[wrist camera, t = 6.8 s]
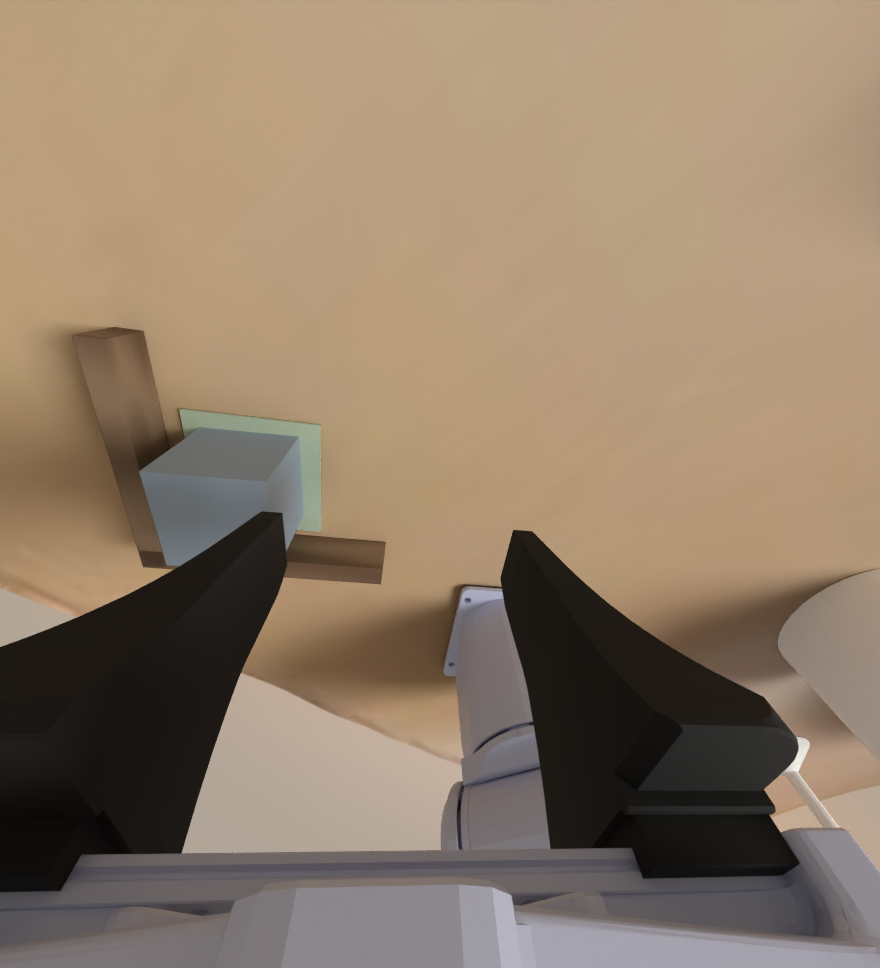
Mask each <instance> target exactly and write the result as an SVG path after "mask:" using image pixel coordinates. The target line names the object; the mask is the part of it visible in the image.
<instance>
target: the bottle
mask: <svg viewBox="0 0 880 968" xmlns="http://www.w3.org/2000/svg"><path fill="white" fill-rule="evenodd" d="M777 642H778V649H779V651H780V653H781V655H782V656H783V657H784V658H785V659H786V661H787V662H788V663H789V664H790V665H791V666H792V667H793V668H794V669H795V670H796V671H797V673H798V674H799V675H800V676H801V677H802V678H803V679H804V680H805V681H806V682H807V684H808V685H809V686H810V687H811V688H812V689H813V690H814V691H815V692H816V693H817V694H818V696H819V697H820V698H821V699H822V700H823V701H824V702H825V703H826V704H827V705H828V707H829V708H830V709H831V710H832V711H833V712H834V713H835V714H836V715H837V716H838V717H839V719H840V720H841V721H842V722H843V723H844V724H845V725H846V726H847V727H848V728H849V730H850V731H851V732H852V733H853V734H854V735H855V736H856V737H857V738H858V739H859V740H860V742H861V743H862V744H863V745H864V746H865V747H866V748H867V749H868V750H869V751H870V752H871V754H872V755H873V756H874V757H875V758H876V759H877V760H878V761H879V762H880V569H876V570H871V571H867V572H863V573H860V574H857V575H854V576H851V577H848V578H846V579H843V580H841V581H839V582H837V583H835V584H833V585H830V586H829V587H827V588H825V589H824V590H822V591H820V592H818V593H817V594H815V595H814V596H812V597H811V598H810V599H808V600H807V601H806V602H804V603H803V604H802V605H801V606H800V607H799V608H798V609H797V610H795V611H794V612H793V613H792V614H791V616H790V617H789V618H788V620H787V621H786V622H785V623H784V625H783V627H782V629H781V631H780V633H779V637H778V641H777Z"/></svg>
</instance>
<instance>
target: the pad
mask: <svg viewBox="0 0 880 968" xmlns="http://www.w3.org/2000/svg"><path fill="white" fill-rule="evenodd" d="M179 412H180V417H181V422H182V427H183V432H184V437H185V438H186V437H188V436H189V435H191V434H192V433H193V432H195V431H196V430H198V429H199V428H200V427H203V428H214V429H225V430H235V431H246V432H257V433H267V434H278V435H289V436H299V440H300V456H301V472H302V489H303V505H304V515H303V517H302V519H301V521H300V523H299V526H298V528H297V530H304V531H315V532H321V531H322V527H321V425H320V424H312V423H303V422H294V421H286V420H277V419H269V418H260V417H251V416H243V415H234V414H226V413H217V412H208V411H200V410H191V409H183V408H180V409H179Z"/></svg>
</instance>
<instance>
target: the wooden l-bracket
mask: <svg viewBox="0 0 880 968" xmlns="http://www.w3.org/2000/svg"><path fill="white" fill-rule="evenodd" d="M72 338H73V341H74V344H75V348H76V351H77V354H78V357H79V361H80V364H81V367H82V370H83V374H84V377H85V380H86V383H87V387H88V390H89V393H90V396H91V399H92V403H93V406H94V409H95V412H96V416H97V419H98V422H99V425H100V429H101V432H102V435H103V438H104V442H105V445H106V448H107V451H108V455H109V458H110V461H111V464H112V467H113V471H114V474H115V477H116V480H117V484H118V487H119V490H120V493H121V497H122V500H123V503H124V506H125V510H126V513H127V516H128V519H129V523H130V526H131V529H132V532H133V535H134V539H135V542H136V545H137V548H138V552H139V555H140V558H141V561H142V565H143V567H148V568H162V569H176V568H177V567H179V566H172V565H167V564H166V561H165V557H164V554H163V551H162V547H161V544H160V541H159V537H158V534H157V531H156V527H155V524H154V520H153V517H152V514H151V510H150V507H149V504H148V500H147V497H146V493H145V490H144V487H143V483H142V480H141V477H140V473H139V471H140V470H142V469H143V468H145V467H146V466H147V465H149V464H150V463H152V462H153V461H154V460H156V459H157V458H159V457H160V456H161V455H163V454H164V453H166V452H167V451H168V450H169V445H168V441H167V436H166V432H165V427H164V423H163V418H162V414H161V409H160V405H159V400H158V396H157V391H156V387H155V382H154V377H153V373H152V368H151V364H150V359H149V355H148V350H147V346H146V341H145V337H144V332H143V331H140V330H132V329H125V328H118V327H113V328H108V329H103V330H97V331H92V332H86V333H81V334H76V335H72ZM385 543H386V542H377V541H365V540H353V539H341V538H329V537H317V536H306V535H294V536H293V538H292V540H291V542H290V544H289V547H288V549H287V551H286V555H287V568H286V571H285V574H284V577H287V578H301V579H315V580H329V581H342V582H356V583H370V584H381V579H382V571H383V562H384V554H385Z"/></svg>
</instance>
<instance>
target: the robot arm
mask: <svg viewBox="0 0 880 968" xmlns="http://www.w3.org/2000/svg"><path fill="white" fill-rule="evenodd" d="M286 568H287V555H286V545H285V534H284V523H283V513H278V512H265V511H261V512H260V513H258V514H257V515H255V516H254V517H252V518H251V519H250V520H248V521H247V522H245V523H244V524H242V525H241V526H240V527H238V528H237V529H235V530H234V531H233V532H231V533H230V534H228V535H227V536H225V537H224V538H222V539H221V540H219V541H218V542H217V543H215V544H214V545H212V546H211V547H209V548H208V549H206V550H205V551H203V552H201V553H200V554H198V555H197V556H195V557H193V558H192V559H190V560H189V561H187V562H185V563H184V564H182V565H181V566H179V567H177V568H176V569H174V570H172V571H171V572H169V573H167V574H166V575H164V576H162V577H160V578H158V579H157V580H155V581H153V582H151V583H149V584H147V585H145V586H143V587H141V588H139V589H138V590H136V591H134V592H132V593H130V594H128V595H126V596H124V597H121V598H119V599H117V600H115V601H113V602H110V603H108V604H106V605H104V606H102V607H99V608H97V609H95V610H93V611H91V612H89V613H86V614H84V615H82V616H80V617H77V618H75V619H72V620H70V621H68V622H65V623H63V624H60V625H58V626H55V627H53V628H51V629H48V630H45V631H43V632H40V633H37V634H35V635H32V636H29V637H27V638H24V639H21V640H19V641H16V642H13V643H10V644H8V645H5V646H2V647H0V968H880V872H879V870H878V869H877V868H876V866H875V865H874V864H873V862H872V861H871V860H870V859H869V857H868V856H867V855H866V853H865V852H864V851H863V849H862V848H861V847H860V845H859V844H858V843H857V842H856V840H855V839H854V838H853V836H852V835H851V834H850V832H849V831H847V830H845V829H843V828H796V829H790V830H787V831H784V832H781V833H780V831H779V830H778V828H777V827H776V825H775V823H774V822H773V820H772V819H771V817H770V816H769V814H773V813H775V812H776V811H775V806H774V804H773V803H772V801H771V800H770V798H769V797H768V795H767V794H766V792H765V791H764V789H765V788H766V787H767V786H768V785H769V784H770V783H771V782H772V781H773V780H775V779H776V778H777V777H778V776H779V775H780V774H781V773H782V772H784V771H785V770H786V769H787V768H788V767H789V766H790V765H791V763H792V762H793V761H794V760H795V758H796V756H797V753H798V749H799V745H798V740H797V738H796V737H795V735H794V734H793V733H792V732H791V730H790V729H789V728H788V727H787V725H786V724H785V723H784V722H783V720H782V719H781V718H780V717H779V715H778V714H777V713H776V712H775V710H774V709H773V708H772V707H771V705H770V704H769V703H768V702H767V700H766V699H765V698H764V697H762V696H760V695H758V694H756V693H754V692H752V691H750V690H748V689H746V688H744V687H743V686H741V685H739V684H737V683H735V682H733V681H731V680H729V679H727V678H725V677H723V676H721V675H719V674H717V673H715V672H713V671H711V670H709V669H707V668H706V667H704V666H702V665H700V664H699V663H697V662H695V661H693V660H692V659H690V658H688V657H686V656H684V655H683V654H681V653H679V652H678V651H676V650H675V649H673V648H671V647H670V646H668V645H666V644H665V643H663V642H662V641H660V640H659V639H657V638H656V637H654V636H653V635H651V634H650V633H648V632H647V631H645V630H643V629H642V628H641V627H639V626H638V625H636V624H635V623H633V622H632V621H631V620H629V619H628V618H627V617H625V616H624V615H623V614H621V613H620V612H619V611H617V610H616V609H615V608H614V607H612V606H611V605H610V604H608V603H607V602H606V601H605V600H604V599H602V598H601V597H600V596H599V595H598V594H597V593H595V592H594V591H593V590H592V589H591V588H590V587H588V586H587V585H586V584H585V583H584V582H583V581H582V580H581V579H580V578H579V577H577V576H576V575H575V574H574V573H573V572H572V571H571V570H570V569H569V568H568V567H567V566H566V565H565V564H564V563H563V562H562V561H561V560H560V559H559V558H558V557H557V556H556V555H555V554H554V553H553V552H552V551H551V550H550V549H549V548H548V547H547V546H546V545H545V544H544V543H543V542H542V541H541V540H540V539H539V538H538V537H537V536H536V535H535V534H534V533H533V532H532V531H521V530H513V533H512V537H511V541H510V544H509V548H508V552H507V556H506V559H505V563H504V567H503V571H502V574H501V585H502V589H500V588H486V587H473V586H467V587H464V588H463V589H462V590H461V594H460V598H459V602H458V606H457V611H456V615H455V619H454V624H453V628H452V632H451V637H450V641H449V645H448V650H447V654H446V658H445V662H444V667H443V673H444V675H446V676H456V685H457V696H458V707H459V719H460V730H461V741H462V750H463V755H464V758H462V759H461V764H462V776H463V781H460V782H457V783H455V784H454V785H453V786H452V788H451V790H450V792H449V795H448V799H447V801H446V804H445V806H444V810H443V815H442V823H441V850H428V851H350V852H349V851H345V852H275V853H274V852H272V853H271V852H267V853H192V854H191V853H188V854H187V853H185V854H181V853H182V849H183V846H184V843H185V839H186V836H187V833H188V829H189V826H190V822H191V819H192V816H193V812H194V809H195V806H196V802H197V799H198V796H199V792H200V789H201V786H202V783H203V780H204V777H205V774H206V770H207V768H208V764H209V761H210V758H211V755H212V752H213V749H214V746H215V743H216V740H217V737H218V734H219V731H220V729H221V725H222V722H223V720H224V717H225V714H226V711H227V708H228V706H229V703H230V700H231V697H232V694H233V692H234V689H235V686H236V684H237V681H238V678H239V676H240V673H241V671H242V669H243V667H244V664H245V662H246V660H247V658H248V656H249V654H250V651H251V649H252V647H253V645H254V643H255V641H256V639H257V637H258V635H259V633H260V631H261V629H262V627H263V625H264V622H265V620H266V618H267V616H268V614H269V612H270V610H271V608H272V606H273V604H274V601H275V599H276V597H277V595H278V592H279V589H280V586H281V583H282V580H283V577H284V574H285V571H286ZM465 598H468V599H465Z"/></svg>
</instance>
